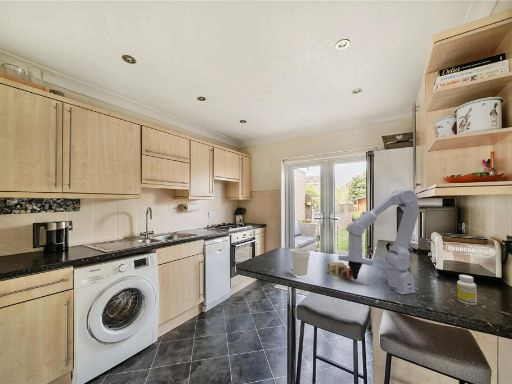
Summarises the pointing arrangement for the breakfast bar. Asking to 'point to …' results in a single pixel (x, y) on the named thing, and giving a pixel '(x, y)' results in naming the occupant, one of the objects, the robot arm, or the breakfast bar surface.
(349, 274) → the orange grey block
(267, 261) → the breakfast bar surface
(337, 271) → the tan lumpy piece
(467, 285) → the supplement bottle
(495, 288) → the breakfast bar surface
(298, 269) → the foam cup
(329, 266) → the bearing stand
